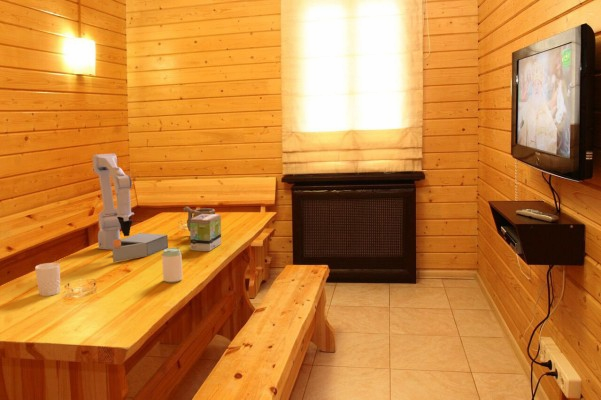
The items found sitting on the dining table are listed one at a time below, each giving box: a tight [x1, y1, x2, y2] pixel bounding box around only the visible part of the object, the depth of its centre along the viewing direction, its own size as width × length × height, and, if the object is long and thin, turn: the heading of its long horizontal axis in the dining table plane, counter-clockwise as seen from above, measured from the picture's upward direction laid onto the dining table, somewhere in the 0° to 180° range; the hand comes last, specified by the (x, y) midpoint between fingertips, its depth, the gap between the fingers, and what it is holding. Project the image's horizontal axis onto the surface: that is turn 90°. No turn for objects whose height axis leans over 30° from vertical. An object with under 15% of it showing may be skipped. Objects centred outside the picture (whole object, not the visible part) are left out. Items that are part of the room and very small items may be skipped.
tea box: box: [189, 213, 222, 252], centre depth 261 cm, size 15×10×15 cm
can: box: [161, 247, 183, 284], centre depth 210 cm, size 7×7×12 cm
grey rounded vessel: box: [182, 206, 216, 232], centre depth 283 cm, size 20×13×15 cm, turn 58°
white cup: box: [34, 262, 61, 297], centre depth 197 cm, size 8×8×10 cm
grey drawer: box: [112, 239, 148, 263], centre depth 241 cm, size 15×3×9 cm, turn 131°
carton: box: [120, 232, 169, 257], centre depth 257 cm, size 15×16×6 cm
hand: (125, 234), depth 244 cm, fingers open, 7 cm apart
